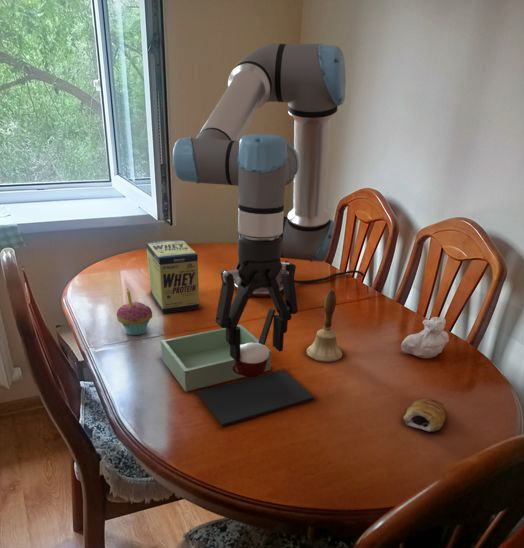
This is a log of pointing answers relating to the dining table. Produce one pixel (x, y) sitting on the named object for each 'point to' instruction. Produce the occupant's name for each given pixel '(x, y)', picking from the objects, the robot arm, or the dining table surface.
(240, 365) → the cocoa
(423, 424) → the pastry
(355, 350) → the dining table surface
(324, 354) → the hand bell
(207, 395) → the mat
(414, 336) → the white animal figurine
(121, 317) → the cupcake
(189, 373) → the tote
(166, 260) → the protein box
